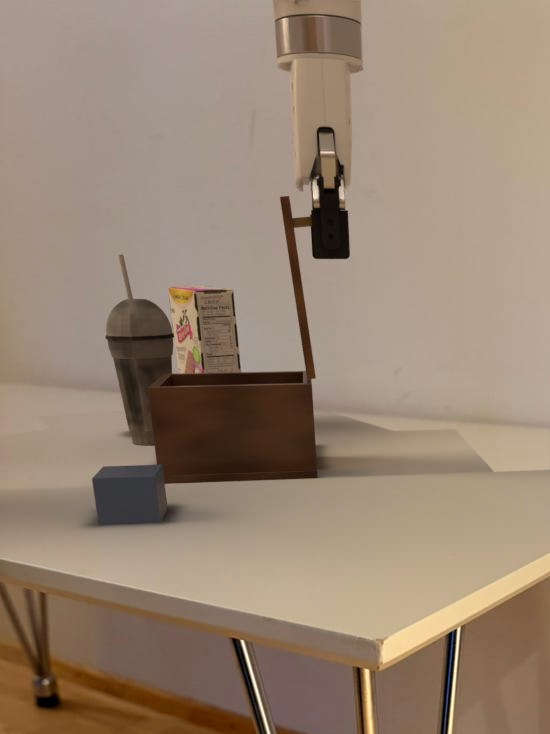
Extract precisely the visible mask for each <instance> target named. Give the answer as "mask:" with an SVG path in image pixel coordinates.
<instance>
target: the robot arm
mask: <svg viewBox="0 0 550 734" xmlns="http://www.w3.org/2000/svg"><path fill="white" fill-rule="evenodd" d="M272 3H273V18H274V34H275V49H276V50H275V51H276V64H277V65H276V66H277V68H278V69H279V70H282V71H285V72H288V73H290V74H289V103H290V105H289V107H290V122H291V123H290V125H291V139H292V140H291V142H292V153H293V155H292V157H293V171H294V181H295V182H294V183H295V188H296V190H297V191H299V192H301V193H303V192H304V185H305V186H309V185H310V193H311V194H310V195H311V209H310V214H309V217H310V216H311V218H312V226H310V237H311V239H310V240H311V255H312V257H313V259H315V260H348V259H349V258H350V257H351V249H350V247H351V246H350V227H349V210H348V209H347V210H346V193H345V191H346V190H347V189H348V188H349V187H350V186H351V178H352V162H353V161H352V160H353V118H352V117H353V116H352V114H353V113H352V87H351V74H357V73H359V72H363V70H364V49H363V47H364V45H363V25H362V24H363V23H362V22H363V21H362V20H363V19H362V0H272Z"/></svg>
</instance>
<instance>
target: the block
mask: <svg viewBox="0 0 550 734" xmlns="http://www.w3.org/2000/svg"><path fill="white" fill-rule="evenodd" d="M91 482H92V488H93V489H92V490H93V496H94V502H95V503H94V504H95V508H96V510H95V511H96V516H97V523H98V526H109V525H110V526H111V525H113V526H114V525H132V524H133V525H135V524H157V523H158V524H159V523H161V522H162V521H163V518H164V517H165V515H166V513H167V511H168V509H169V508H168V499H167V492H166V491H167V490H166V484H165V482H164V474H163V465H157V464H144V465H143V464H139V465H138V464H135V465H134V464H133V465H108V466H107V465H106V466H102V467H101V468H100V469H99V470H98V471H97V472H96V474H94V476H93V477H91Z"/></svg>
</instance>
